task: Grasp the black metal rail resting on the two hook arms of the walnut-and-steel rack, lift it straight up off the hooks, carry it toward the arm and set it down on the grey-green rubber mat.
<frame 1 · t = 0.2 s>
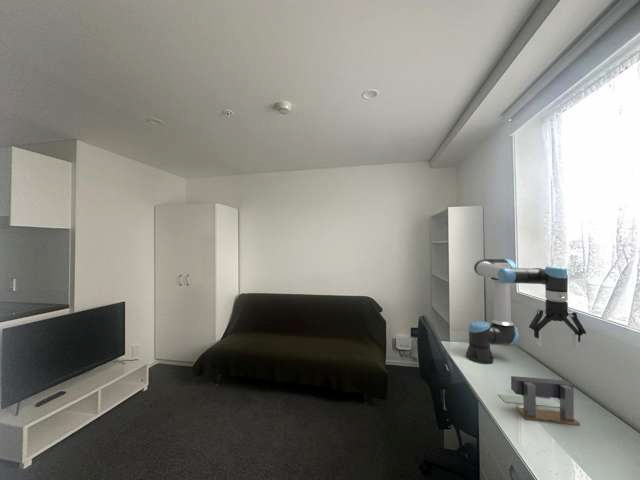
hand: (556, 346, 117), 27 cm above the table, fingers open, 13 cm apart
mat: (529, 401, 121), on the table
bracket: (539, 391, 130), on the table
hook rack: (546, 417, 110), on the table
rail: (541, 394, 113), point 8 cm above the table, touching hook rack
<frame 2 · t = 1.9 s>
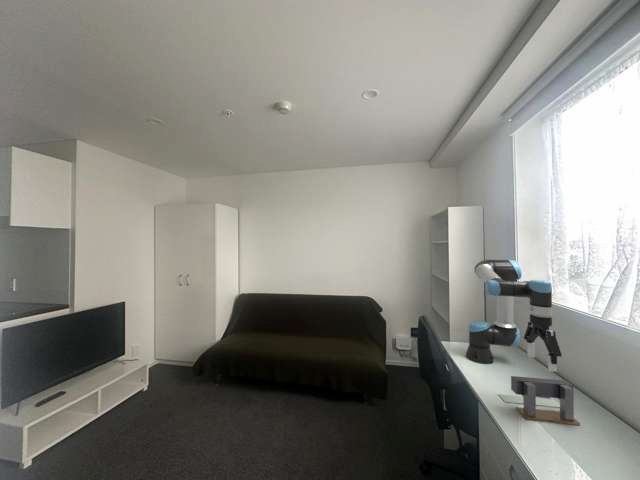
hand: (541, 363, 113), 21 cm above the table, fingers open, 13 cm apart
nothing on the table moved.
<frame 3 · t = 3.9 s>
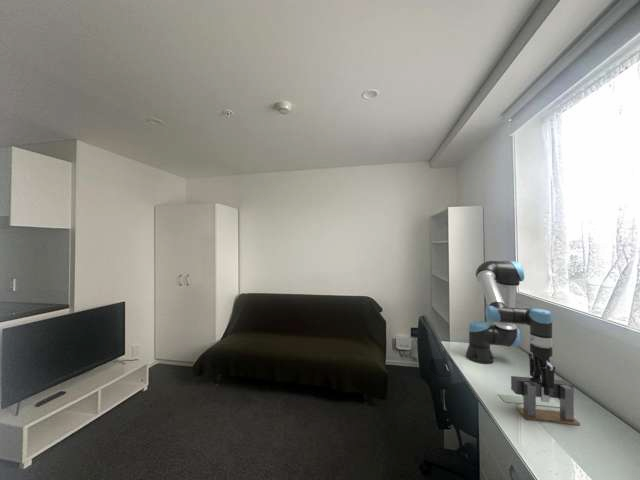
hand: (541, 398, 113), 6 cm above the table, fingers closed on rail, 4 cm apart
rail: (541, 394, 113), point 8 cm above the table, touching gripper, hook rack
everything else where it was.
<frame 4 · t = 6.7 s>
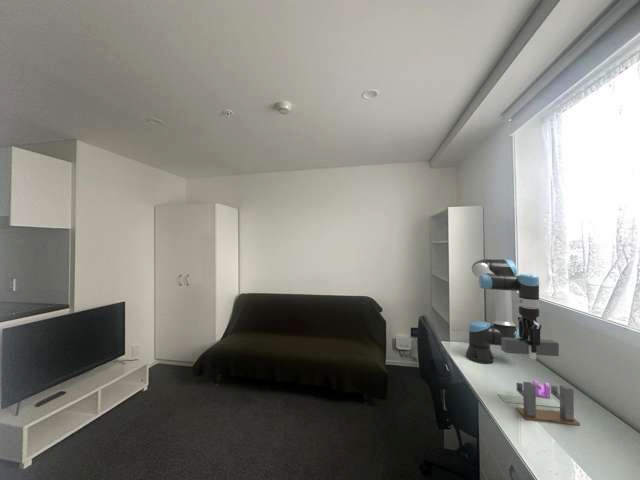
hand: (529, 356, 122), 21 cm above the table, fingers closed on rail, 4 cm apart
rail: (529, 352, 122), point 23 cm above the table, touching gripper
everything else where it was.
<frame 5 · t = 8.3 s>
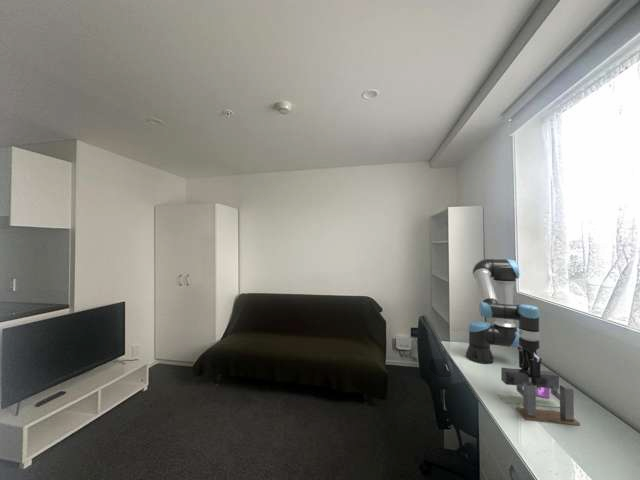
hand: (529, 388, 121), 6 cm above the table, fingers closed on rail, 4 cm apart
rail: (529, 384, 121), point 8 cm above the table, touching gripper
everything else where it was.
when the fingers open (1 cm above the table, at t = 9.4 s): rail drops 3 cm, resting on mat.
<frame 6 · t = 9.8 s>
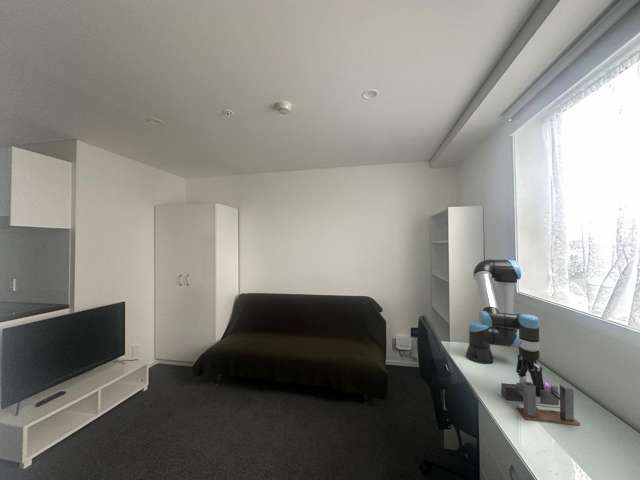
hand: (529, 396, 121), 2 cm above the table, fingers open, 9 cm apart
rail: (529, 400, 121), resting on mat
everything else where it was.
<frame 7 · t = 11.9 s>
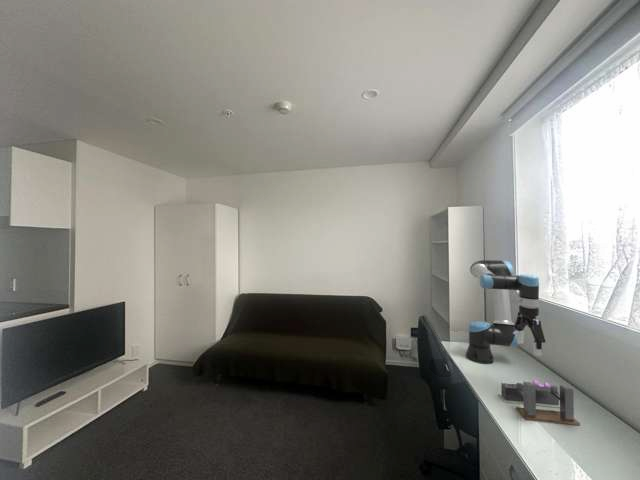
hand: (528, 349, 127), 22 cm above the table, fingers open, 13 cm apart
nothing on the table moved.
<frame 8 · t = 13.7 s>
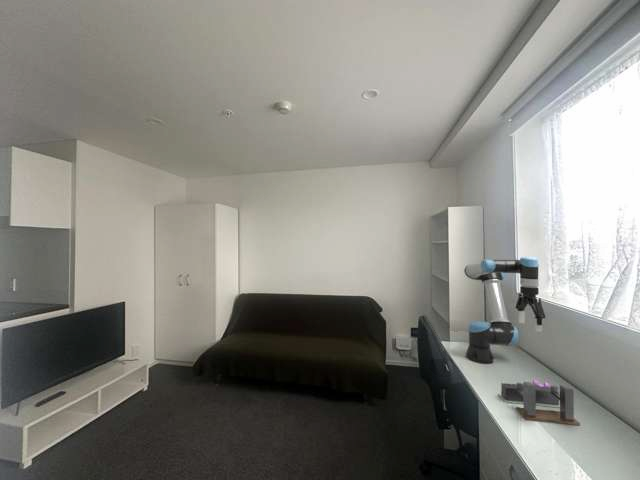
hand: (529, 326, 135), 31 cm above the table, fingers open, 13 cm apart
nothing on the table moved.
at the end: rail inside the target area (0.1 cm from its centre), resting on mat; rail touching mat; the gripper is holding nothing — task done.
